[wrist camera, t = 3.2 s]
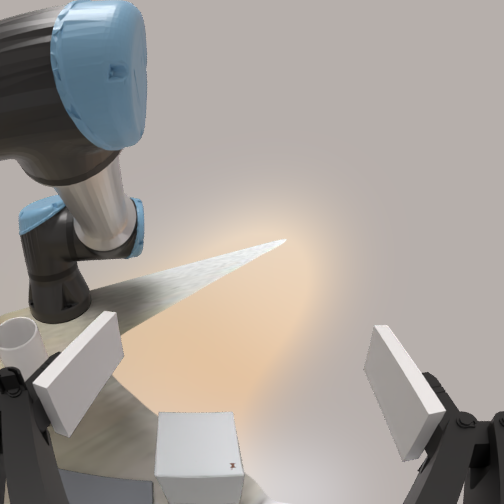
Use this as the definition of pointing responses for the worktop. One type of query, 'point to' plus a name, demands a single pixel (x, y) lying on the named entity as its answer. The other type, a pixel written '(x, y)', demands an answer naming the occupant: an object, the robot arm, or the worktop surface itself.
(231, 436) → the supplement box
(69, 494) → the rubber mat
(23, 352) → the drinking glass
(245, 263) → the worktop surface
